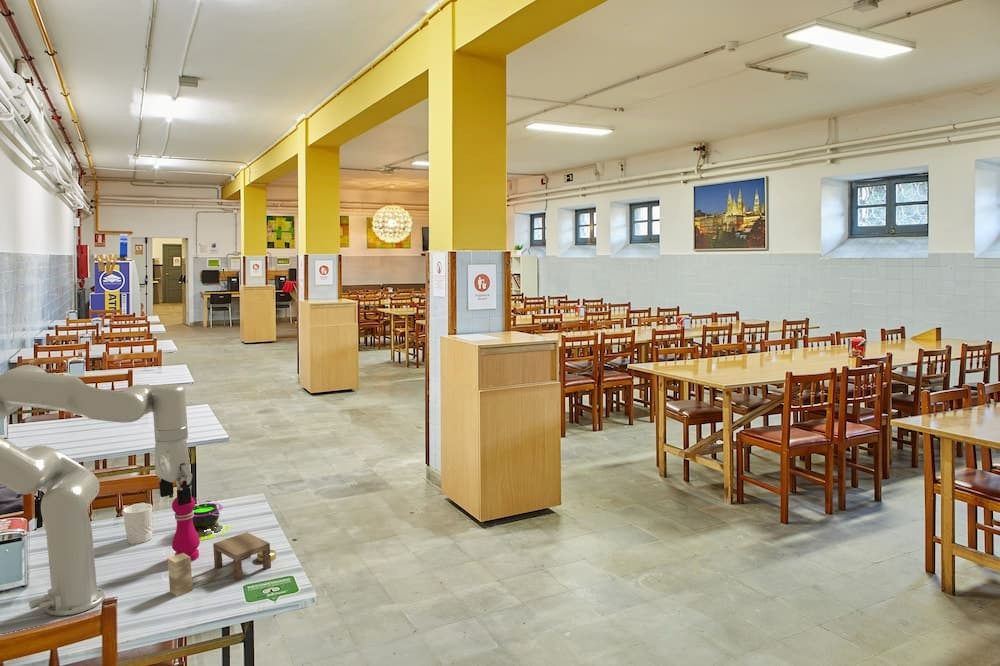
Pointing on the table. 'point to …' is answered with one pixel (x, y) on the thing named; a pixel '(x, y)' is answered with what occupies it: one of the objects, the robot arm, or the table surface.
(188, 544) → the pepper mill
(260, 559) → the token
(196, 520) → the toy cauldron
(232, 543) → the small wooden table
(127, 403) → the robot arm
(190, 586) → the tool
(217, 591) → the table surface
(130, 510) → the white cup
